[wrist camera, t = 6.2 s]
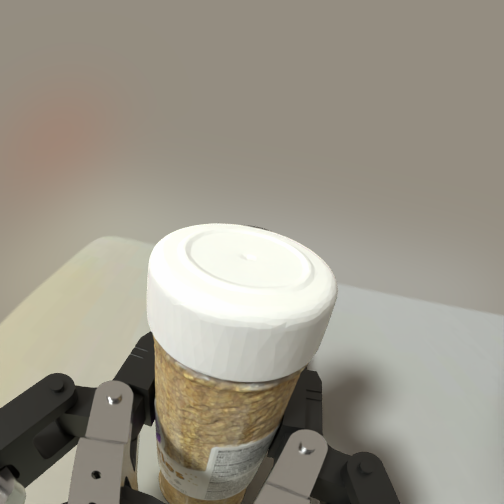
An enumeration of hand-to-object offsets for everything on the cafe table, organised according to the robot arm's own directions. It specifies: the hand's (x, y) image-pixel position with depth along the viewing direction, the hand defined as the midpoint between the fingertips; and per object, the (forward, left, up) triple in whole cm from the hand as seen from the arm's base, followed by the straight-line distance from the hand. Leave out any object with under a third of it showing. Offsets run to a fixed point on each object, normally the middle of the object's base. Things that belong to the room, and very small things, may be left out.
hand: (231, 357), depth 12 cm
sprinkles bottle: (+1, +2, -8) cm, 8 cm away
